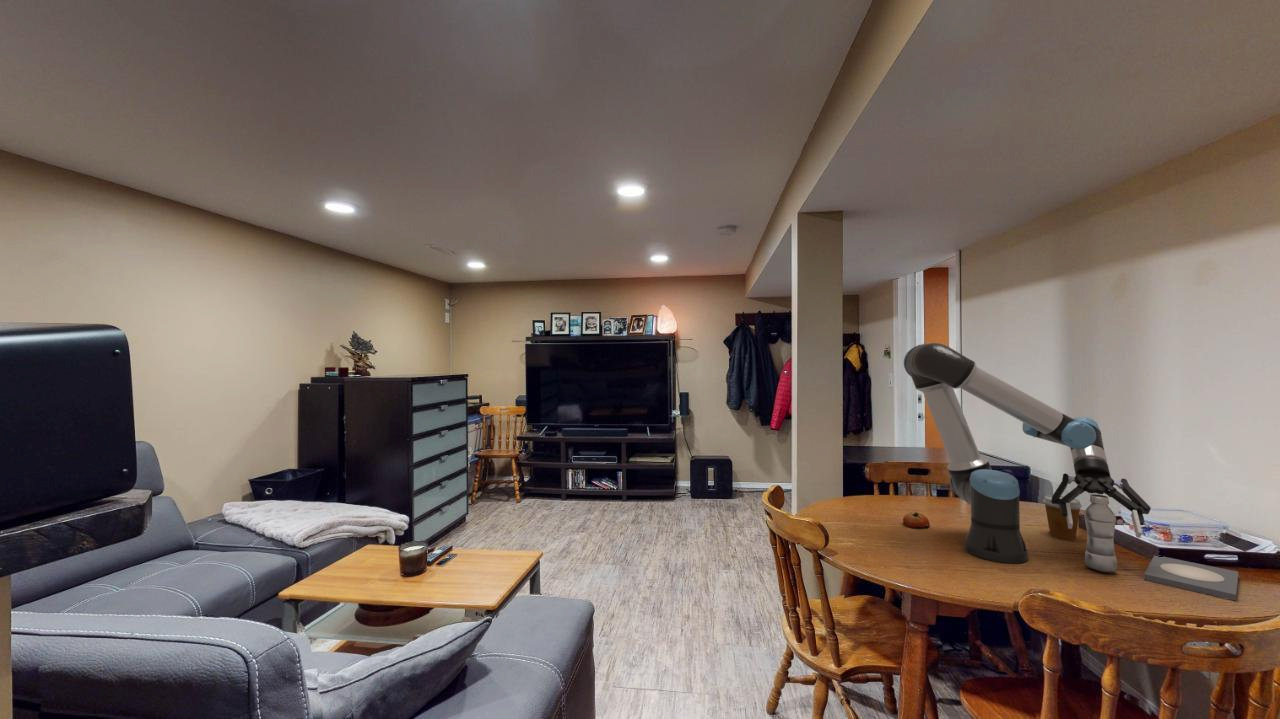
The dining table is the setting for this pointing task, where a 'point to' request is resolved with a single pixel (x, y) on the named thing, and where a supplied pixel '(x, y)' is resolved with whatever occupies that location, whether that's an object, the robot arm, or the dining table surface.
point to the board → (1193, 577)
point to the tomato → (915, 520)
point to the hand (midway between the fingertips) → (1104, 530)
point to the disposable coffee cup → (1062, 518)
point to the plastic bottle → (1100, 535)
